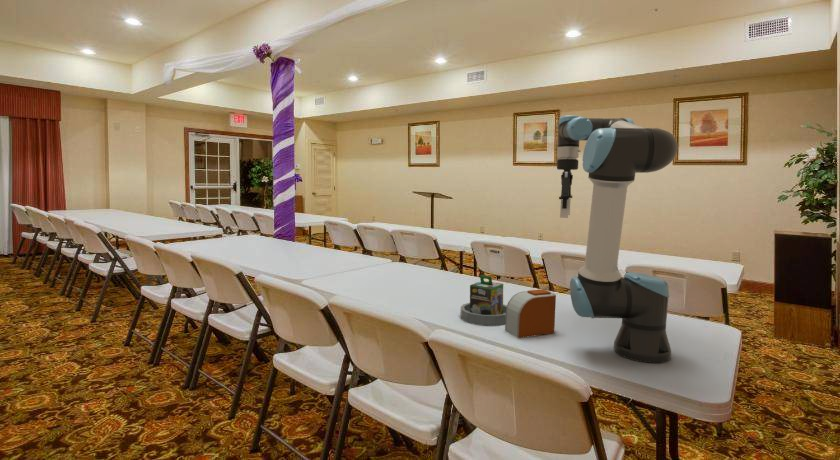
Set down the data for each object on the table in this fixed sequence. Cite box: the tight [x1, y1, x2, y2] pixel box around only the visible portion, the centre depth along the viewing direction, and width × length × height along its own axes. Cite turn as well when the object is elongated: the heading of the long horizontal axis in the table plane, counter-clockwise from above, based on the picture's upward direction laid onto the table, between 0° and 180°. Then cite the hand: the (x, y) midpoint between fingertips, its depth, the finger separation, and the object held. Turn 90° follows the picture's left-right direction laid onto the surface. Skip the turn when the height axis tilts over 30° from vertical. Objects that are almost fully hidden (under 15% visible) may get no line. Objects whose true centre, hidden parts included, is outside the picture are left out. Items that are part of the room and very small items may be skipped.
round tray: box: [459, 302, 507, 327], centre depth 169 cm, size 18×18×3 cm
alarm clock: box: [504, 288, 557, 339], centre depth 154 cm, size 15×8×14 cm, turn 111°
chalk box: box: [469, 274, 504, 315], centre depth 168 cm, size 9×9×15 cm
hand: (565, 216), depth 173 cm, fingers open, 13 cm apart
